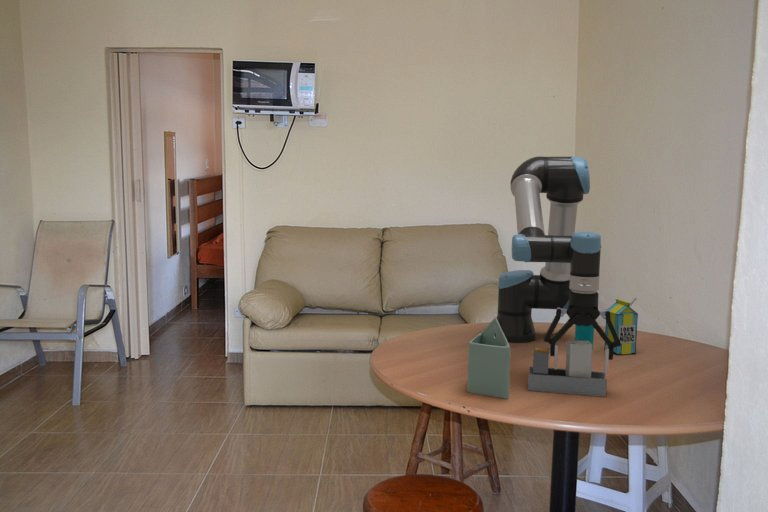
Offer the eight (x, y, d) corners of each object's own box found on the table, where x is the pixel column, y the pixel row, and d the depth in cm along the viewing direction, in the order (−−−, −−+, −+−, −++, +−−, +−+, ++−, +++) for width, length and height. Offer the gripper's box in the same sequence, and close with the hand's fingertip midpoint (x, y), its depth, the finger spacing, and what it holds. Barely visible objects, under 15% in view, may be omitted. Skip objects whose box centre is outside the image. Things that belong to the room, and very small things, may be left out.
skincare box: (586, 383, 194) (589, 340, 193) (591, 388, 190) (593, 344, 188) (564, 383, 195) (566, 339, 193) (568, 388, 190) (570, 343, 189)
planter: (454, 383, 197) (456, 313, 195) (480, 380, 200) (482, 311, 198) (481, 402, 182) (484, 326, 180) (509, 398, 185) (512, 324, 182)
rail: (529, 382, 199) (530, 344, 198) (603, 388, 194) (606, 349, 193) (528, 390, 192) (529, 351, 190) (605, 396, 187) (608, 357, 186)
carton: (638, 354, 230) (641, 298, 227) (616, 355, 228) (619, 299, 226) (625, 348, 237) (628, 294, 235) (604, 349, 235) (607, 295, 233)
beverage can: (585, 350, 234) (588, 305, 232) (596, 354, 229) (598, 308, 227) (570, 351, 232) (572, 306, 230) (580, 356, 227) (583, 309, 225)
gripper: (536, 291, 188) (533, 370, 191) (634, 295, 183) (630, 376, 186) (536, 286, 195) (534, 362, 198) (631, 290, 190) (627, 368, 193)
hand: (580, 369), depth 192 cm, fingers open, 12 cm apart
